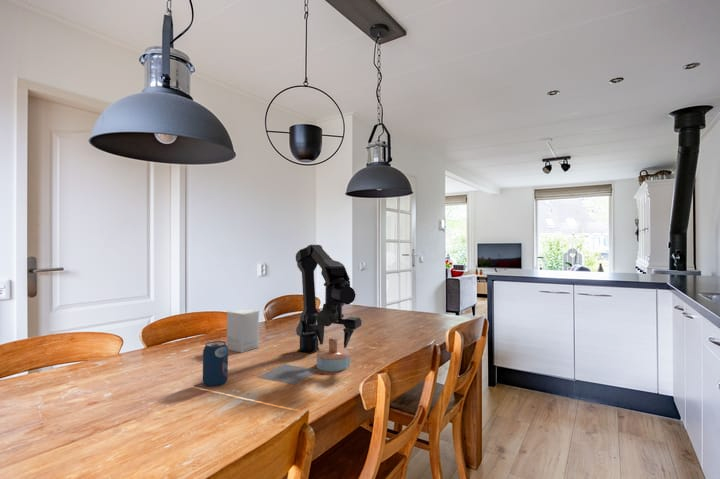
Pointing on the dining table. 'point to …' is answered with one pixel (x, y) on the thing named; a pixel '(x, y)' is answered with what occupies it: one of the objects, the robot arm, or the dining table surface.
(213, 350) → the soda can
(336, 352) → the lid
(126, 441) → the dining table surface
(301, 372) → the mat
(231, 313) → the supplement box
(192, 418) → the dining table surface
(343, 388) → the dining table surface
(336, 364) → the bowl
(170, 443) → the dining table surface
